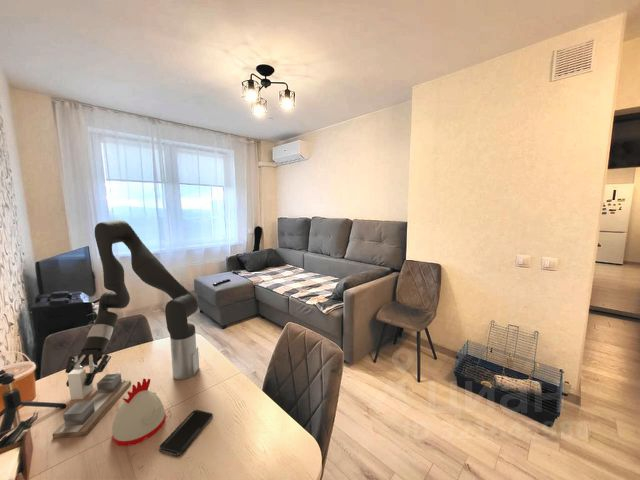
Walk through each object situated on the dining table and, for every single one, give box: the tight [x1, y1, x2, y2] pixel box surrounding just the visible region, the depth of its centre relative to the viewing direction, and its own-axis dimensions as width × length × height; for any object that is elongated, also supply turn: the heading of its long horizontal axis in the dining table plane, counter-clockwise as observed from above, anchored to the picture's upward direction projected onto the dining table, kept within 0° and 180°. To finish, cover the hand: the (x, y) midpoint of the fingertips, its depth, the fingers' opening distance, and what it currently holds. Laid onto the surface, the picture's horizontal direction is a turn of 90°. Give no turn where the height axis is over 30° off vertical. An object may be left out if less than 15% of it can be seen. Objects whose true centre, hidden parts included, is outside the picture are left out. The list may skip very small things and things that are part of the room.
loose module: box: [67, 368, 94, 401], centre depth 95 cm, size 4×5×10 cm
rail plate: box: [51, 373, 132, 439], centre depth 89 cm, size 9×23×6 cm, turn 7°
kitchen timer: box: [111, 378, 167, 447], centre depth 82 cm, size 14×14×15 cm
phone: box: [158, 409, 214, 458], centre depth 81 cm, size 8×1×15 cm
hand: (78, 385), depth 94 cm, fingers open, 5 cm apart
